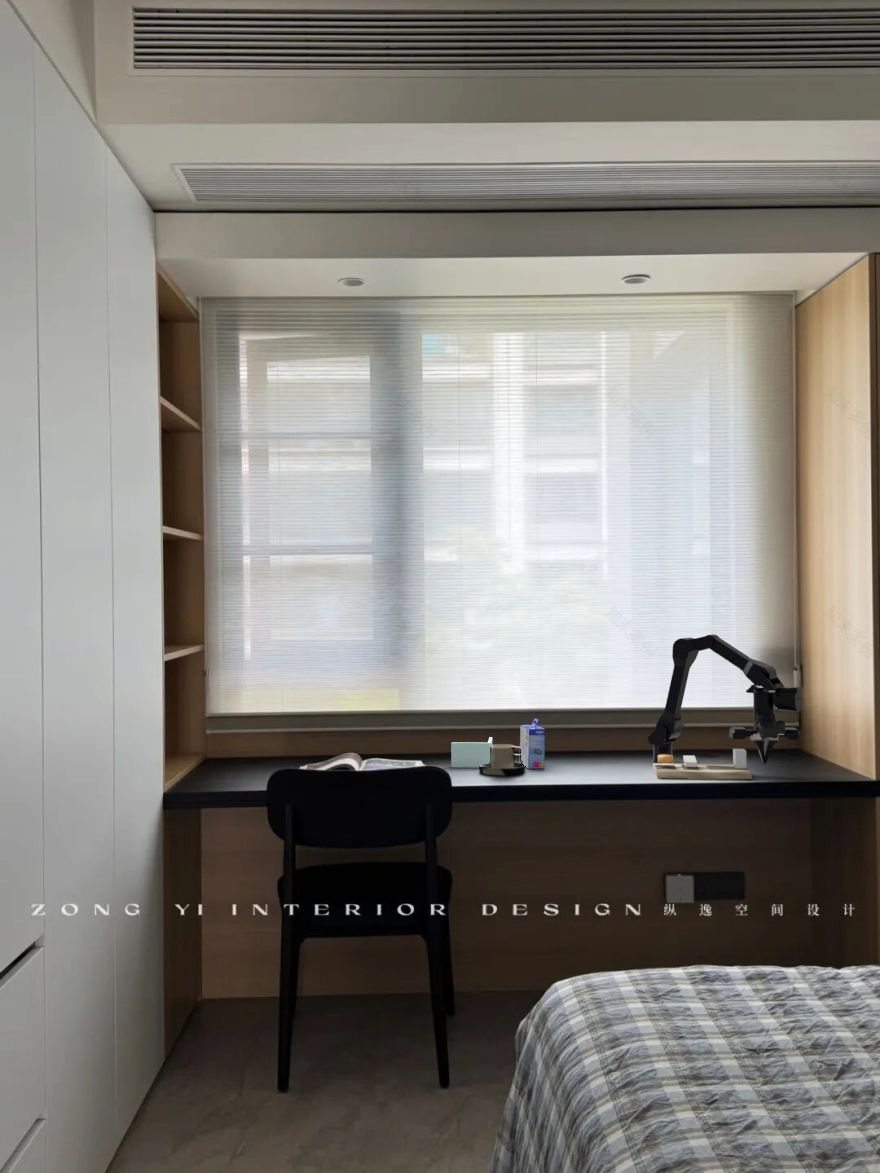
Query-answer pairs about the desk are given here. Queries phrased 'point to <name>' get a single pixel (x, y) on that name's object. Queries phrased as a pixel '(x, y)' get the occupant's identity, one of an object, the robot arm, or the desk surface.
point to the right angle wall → (470, 753)
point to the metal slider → (739, 758)
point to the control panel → (700, 771)
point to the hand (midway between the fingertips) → (764, 763)
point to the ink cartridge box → (532, 745)
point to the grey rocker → (690, 761)
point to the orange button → (665, 758)
